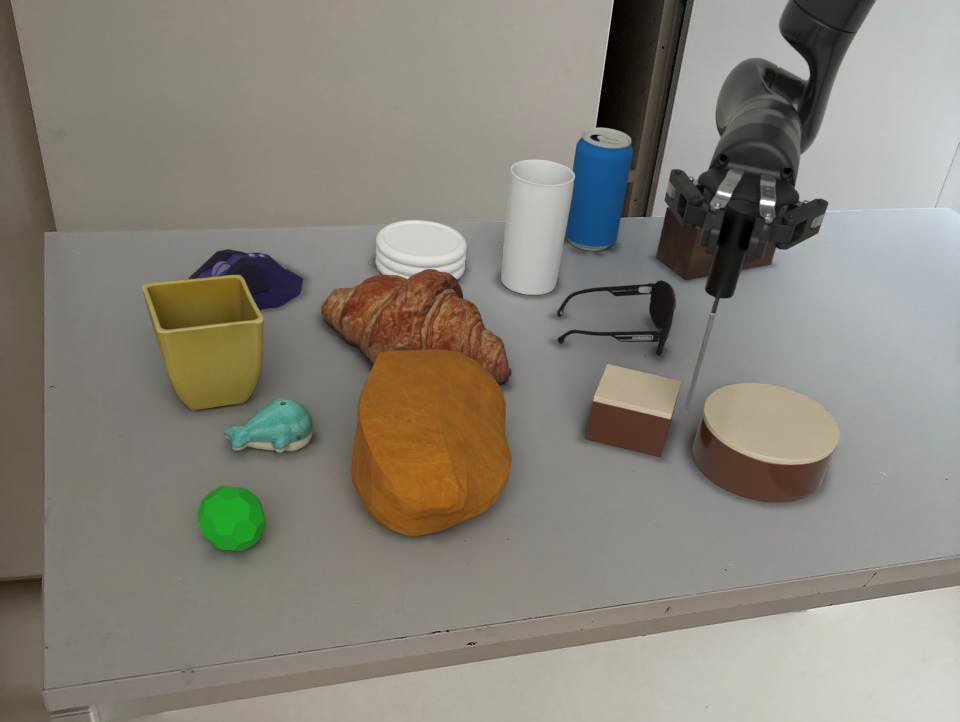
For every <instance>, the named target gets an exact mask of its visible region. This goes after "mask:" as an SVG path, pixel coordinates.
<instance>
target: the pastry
mask: <svg viewBox="0 0 960 722" xmlns="http://www.w3.org/2000/svg"><path fill="white" fill-rule="evenodd" d="M459 282H460V281H459V279H458V280H457V279H456V278H455V277H454V276H452V275H451V274H449V273H447V272H440V271H438V270H435V269H426V270H423V271H421V272H419V273H416V274H414V275H412V276H411V277H409V278H408V279H406V278H404V277H401V276H398V275H383V274H376V275H372V276H370V277H368V278H366V279H364V280H363V281H362V282H361V283H359V284H357V285H354V286H353V287H339V288H334V289H333V290H332V291H331V292H330V294H329V295H328V296H327V298H326V299H325V300H324V301H323V303H322V304H321V307H320V313H321V316H322V318H323V319H324V320H325V323H326V324H327V325H328V326H329V327H330V328H332V329H334V331H335V332H336V333H338V334H339V335H341V337H342V338H343V339H344V341H345V342H347V343H348V344H349V345H350V346H352V347H355V348H358V349H360V353H361V354H362V355H364V356H365V357H366V358H367V360H369V361H370V363H371V364H372V366H373V365H374V363H375V360H376V358H377V356H378V354H379V353H382V352H387V351H393V350H423V349H439V350H448V351H457V352H459V353H461V354H463V355H465V356H467V357H469V358H471V359H473V360H475V361H477V362H478V363H479V364H480V365H481V366H483V367H484V368H485V369H486V370H487V371H488V372H489V373H490V374H491V375H492V376H493V377H494V379H495V380H496V381H497V383H498V384H499V386H500V385H504V384H506V383H508V382H509V380H510V377H511V376H512V368H510V365H509V359H508V356H507V351H506V348H505V342H504V341H503V340H502V338H500V336H498V335H497V334H494V333H493V332H492V331H491V330H489V329H488V328H486V326H485V323H484V320H483V318H482V314H481V312H480V310H479V308H478V307H477V306H476V304H475V303H474V302H472V301H470V300H469V299H466V298H464V293H463V290H462V286H461V284H460V283H459Z"/></svg>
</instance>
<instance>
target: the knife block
mask: <svg viewBox="0 0 960 722" xmlns="http://www.w3.org/2000/svg"><path fill="white" fill-rule="evenodd" d="M660 232H661V233H660V236H659V242H658V246H657V250H656V254H655V258H656V259H657V260H658V261H660V262H661V263H662V264H663V265H665V266H666V267H667V268H669V269H670V270H671V271H673V272H674V273H675V274H676V275H678V276H679V277H680V278H682V279H683V280H685V281H689V280H693V279H699V278H704V277H708V275H709V271H710V267H711V264H712V260H713V255H708V254H705V251H706V247H701V246H700V245H699V240H700V236H701V232H702V229H701V228H700V227H698V226H697V228H696V229H694V230H688V229H685V228H683V227H682V225H681V224H680V222H679V221H678V220H677V218H676V217H675V215H674V214H673V212H672V211H671V210H670V208H669V207H668V206H667V207H666V209H665V214H664V217H663V222H662V227H661V231H660ZM776 249H777V248H776V247H775V246H774V243H768V245H767V248H766V251H765V254H764V257H763V258H762V259H756V258H754V260H753V264H749V263H745V262H743V265H742V268H741V271H742V270H748V269H754V268H757V267H762V266H768V265H769V266H770V265H772V263H773V259H774V255H775V253H776Z"/></svg>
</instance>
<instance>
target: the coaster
mask: <svg viewBox="0 0 960 722" xmlns="http://www.w3.org/2000/svg"><path fill="white" fill-rule="evenodd" d="M375 246H376V247H375V250H374V251H375V259H374V262H375V266H376V268H377V270H378V272H380V274H381V275H398V276H401V277H404V278H406V279H408V278H409V277H411V276H412V275H414V274H416V273H419V272H421V271H423V270H426V269H435V270H438V271H440V272H447V273H449V274H451V275H452V276H454V277H455V278H456V279H457V280H458V281H459V279H461V278H462V277H463V275H464V273H465V271H466V260H467V254H466V252H467V250H468V244H467V241H466V238H465V237H464V236H463V235H462V234H461V233H460V232H459V231H457V230H456V229H454V228H453V227H451V226H448V225H447V224H443V223H441V222H436V221H431V220H424V219H423V220H422V219H409V220H400V221H396V222H392V223H390V224H387V225H385V226H384V227H383V228H381V229H380V230H379V231H378V232H377V234H376V237H375Z"/></svg>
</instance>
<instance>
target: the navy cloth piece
mask: <svg viewBox="0 0 960 722" xmlns="http://www.w3.org/2000/svg"><path fill="white" fill-rule="evenodd" d="M227 275H241V276H242V277H243V278H244V280H245V282H246V285H247V287H248V289H249V291H250V293H251V296H252V298H253V300H254V302H255V303H256V305H257V307H258V309H259V310H266V309H273V308H279V307H280V308H281V307H282V306H284V305H285V304H287V303H288V302H290V301H291V300H293V299H294V298H296V297H298V296H299V295H300V294H301V291H302V286H303V283H304V278H303V277H302V276H300V275H298V274H297V273H295V272H293V271H291V270H289V269H288V268H286V266H283V265H282V264H281V263H279V262H278V261H277V260H276V259H274V258H273V257H272V256H270V254H267V253H262V252H257V251H256V252H244V251H240V250H234V249H231V248H226V249H221V250H217V251H216V252H214V254H213V255H211V257H209V258H208V259H207V260H206V261H205V262H204V263H203V264H201V266H200V267H199V268H197V269H196V270H195V271H194V272H193V273H192V274H191V275H190V276H189V277H188V278H187V280H189V279H198V278H208V277H218V276H227Z"/></svg>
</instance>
